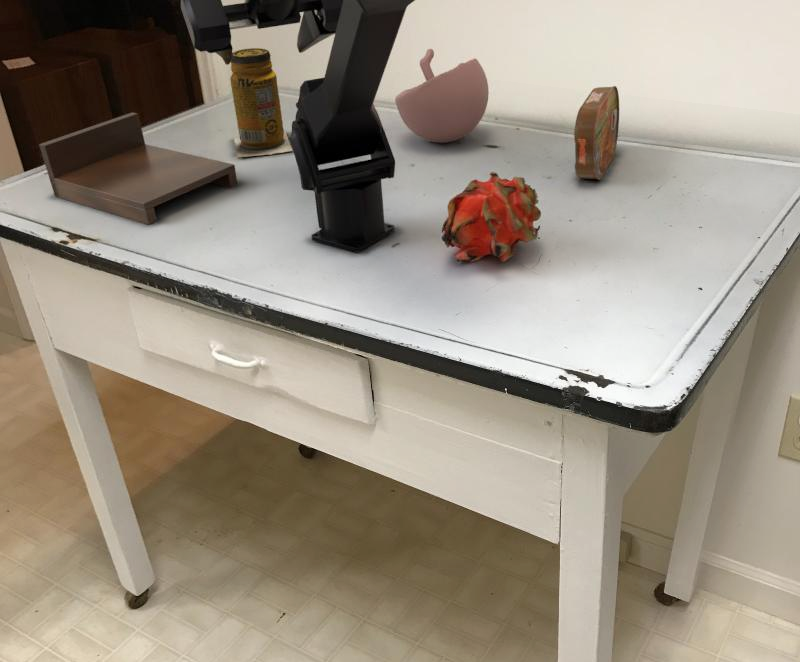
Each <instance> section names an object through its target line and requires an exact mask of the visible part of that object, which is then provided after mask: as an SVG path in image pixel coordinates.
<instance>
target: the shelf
mask: <svg viewBox="0 0 800 662" xmlns="http://www.w3.org/2000/svg"><path fill="white" fill-rule="evenodd" d="M145 141H146V140H145V138H144V133H143V129H142V125H141V121H140V116H139V113H137V112H129V113H126V114H123V115H120V116H118V117H115V118H112V119H109V120H106V121H103V122H100V123H97V124H94V125H92V126H89V127H86V128H83V129H80V130H77V131H73V132H71V133H68V134H66V135H62V136H59V137H57V138H53V139H51V140H47V141H45V142H42V143H39V149H40V152H41V155H42V159H43V162H44V166H45V169H46V171H47V175H48V179H49V182H50V185H51V188H52V191H53V195H54V197H56V198H59V199H63V200H66V201H69V202H73V203H77V204H80V205H82V206H87V207H89V208H92V209H96V210H99V211H102V212H106V213H109V214H112V215H115V216H119V217H122V218H126V219H128V220H132V221H136V222H139V223H142V224H145V225H151V224H153V223H156V222H158V221H157V216H156V215H157V214H156V211H155V207H156V206H158V205H162V204H163V203H166V202H168V201H170V200H173V199H174V198H178V197H179V196H181V195H184V194H185V193H189V192H191V191H193V190H195V189H197V188H200V187H202V186H204V185H206V184H208V183H212V184H216V185H221V186H225V187H228V188H233V187H235V186H237V185H238V184H239V183H238V182H239V181H238V176H237V171H236V166H235V164H234V163H229V162H225V161H221V160H217V159H212V158H207V157H203V156H199V155H195V154H194V155H193V154H190V153H185V152H181V151H176V150H173V149H168V148H163V147H159V146H154V145H150V144H146V142H145Z"/></svg>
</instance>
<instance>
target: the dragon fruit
mask: <svg viewBox="0 0 800 662" xmlns="http://www.w3.org/2000/svg"><path fill="white" fill-rule="evenodd" d="M489 176H490V177H489V179H488V180H486V181H480V180H478V179H473V180H471V181H470V182H469V183H468V184H467V186H466V187H465V188H464V190H462V191H461V192H460V193H459V194H456V195H455V196H453V197H452V198H451V199H449V201H448V203H447V211H448V213H447V214H448V216H447V218H446V219H445V221H444V222H443V225H442V228H441V229H442V230H441V234H442V233H443V234H442V236H441V240H442V242H444V245H445V247H447V249H449V247H451V248H457V249H459V250H458V251H457V252H455V253H454V255H453V256H454V258H455V261H456V262H457V263H459V262H461V261H463V262H464V261H467V262H470V263H471V262H472V263H473V262H475V261H479V260H481V259H482V258H484V257H485V256H488V255H491V256H495V257H498V258H499V261H500V262H502V263H504V262H506V261H508V259H511V258H512V257H514V255H516V253H517V249H516V248H517V247H518V245H519V243H520V242H524V243H530V242H532V241H535V240H537V238H538V235H539V231H540V229H541V225H538V227H534V222H536V221H539V220H540V219H541V215H542V212H541V210H540V208H539V207H538V206H536V205H538V203H539V200H538V198H539V196H538V193H537V192H536V189H535V188H532V187H531V185H529V184H527V183H526V180H525V178H524V177H521V176H514V177H513V178H512V179H511V180H510V179H508V178H501V177H499V174H498V173H497V172H494V171H491V172H490V173H489Z"/></svg>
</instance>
